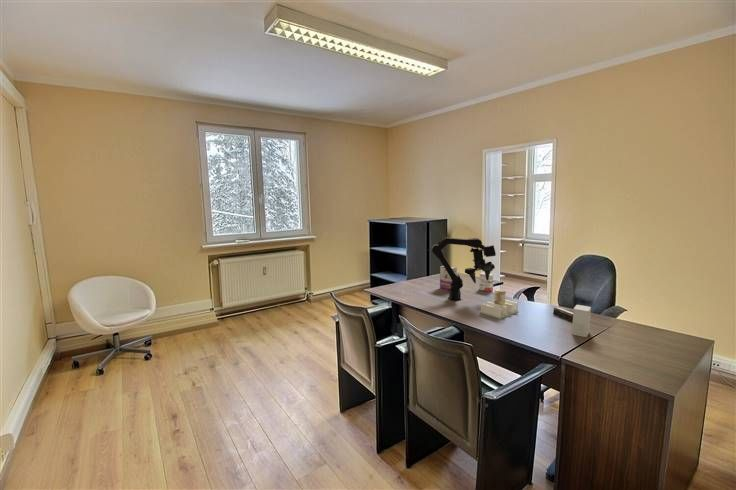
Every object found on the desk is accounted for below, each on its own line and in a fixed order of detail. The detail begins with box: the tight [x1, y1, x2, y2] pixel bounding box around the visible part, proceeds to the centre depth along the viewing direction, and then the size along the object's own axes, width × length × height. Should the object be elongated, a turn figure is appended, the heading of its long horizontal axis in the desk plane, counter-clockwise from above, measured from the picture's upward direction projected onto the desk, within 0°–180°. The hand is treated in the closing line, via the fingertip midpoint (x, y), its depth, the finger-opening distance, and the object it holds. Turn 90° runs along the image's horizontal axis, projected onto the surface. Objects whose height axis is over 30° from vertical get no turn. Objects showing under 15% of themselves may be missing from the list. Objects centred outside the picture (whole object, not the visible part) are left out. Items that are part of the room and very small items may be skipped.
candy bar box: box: [439, 265, 458, 291], centre depth 250 cm, size 11×5×16 cm, turn 43°
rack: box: [479, 298, 519, 320], centre depth 200 cm, size 13×18×6 cm
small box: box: [571, 304, 592, 338], centre depth 169 cm, size 8×6×13 cm
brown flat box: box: [552, 306, 573, 322], centre depth 193 cm, size 14×25×4 cm, turn 17°
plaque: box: [493, 289, 507, 306], centre depth 200 cm, size 5×3×12 cm, turn 37°
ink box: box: [478, 272, 494, 292], centre depth 247 cm, size 8×5×12 cm, turn 39°
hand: (481, 281), depth 223 cm, fingers open, 9 cm apart
